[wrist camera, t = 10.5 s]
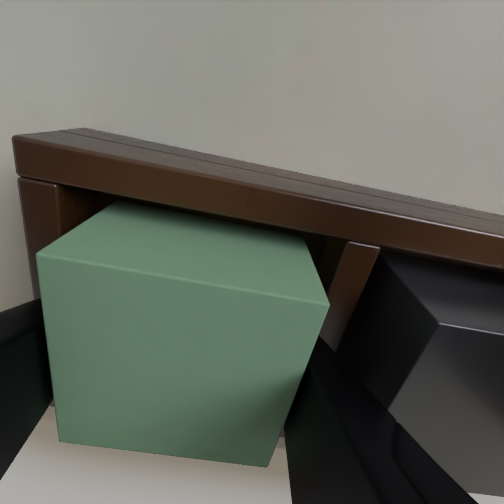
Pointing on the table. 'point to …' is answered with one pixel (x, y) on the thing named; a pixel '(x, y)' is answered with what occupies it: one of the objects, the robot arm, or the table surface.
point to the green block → (177, 332)
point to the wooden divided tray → (326, 273)
